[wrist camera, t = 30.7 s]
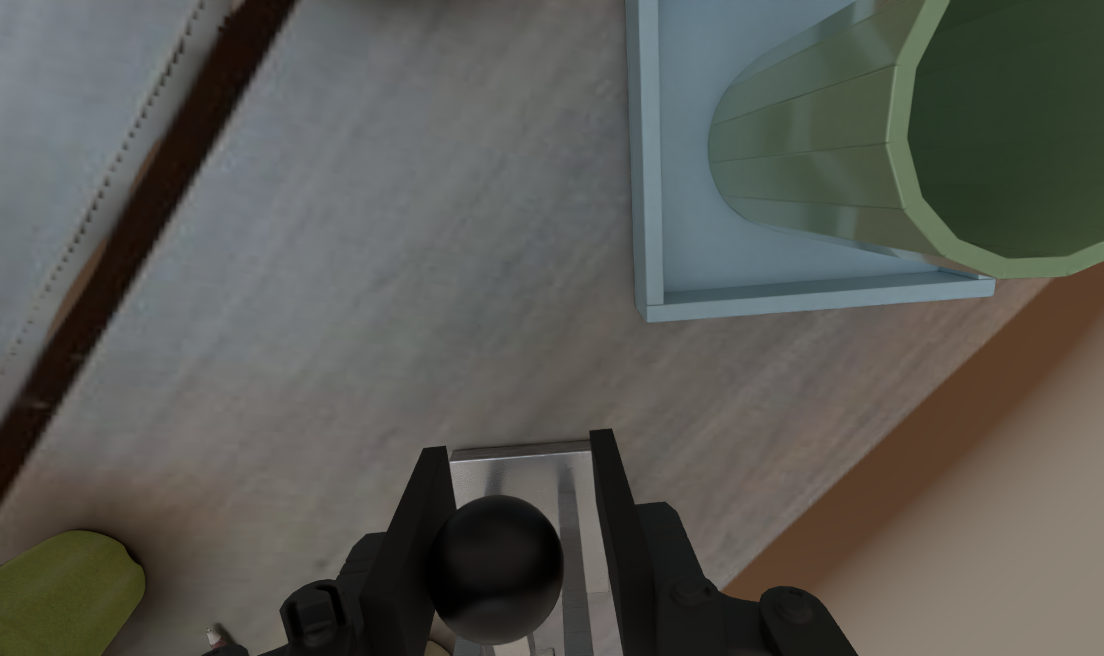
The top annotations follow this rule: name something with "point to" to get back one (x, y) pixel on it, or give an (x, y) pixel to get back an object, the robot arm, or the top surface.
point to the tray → (692, 197)
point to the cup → (928, 134)
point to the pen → (215, 639)
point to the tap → (565, 499)
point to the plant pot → (67, 596)
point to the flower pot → (435, 650)
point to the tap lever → (496, 573)
